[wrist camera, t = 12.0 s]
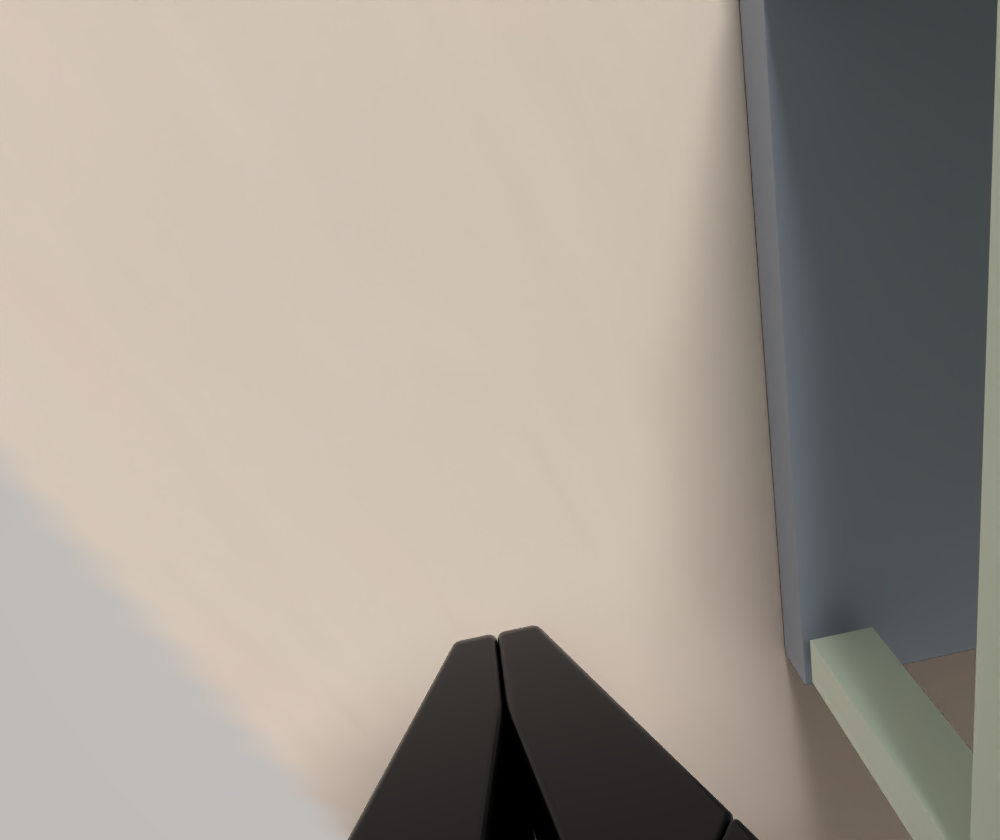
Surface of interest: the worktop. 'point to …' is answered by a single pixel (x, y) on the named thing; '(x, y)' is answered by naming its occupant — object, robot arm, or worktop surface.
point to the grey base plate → (874, 308)
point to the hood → (889, 686)
